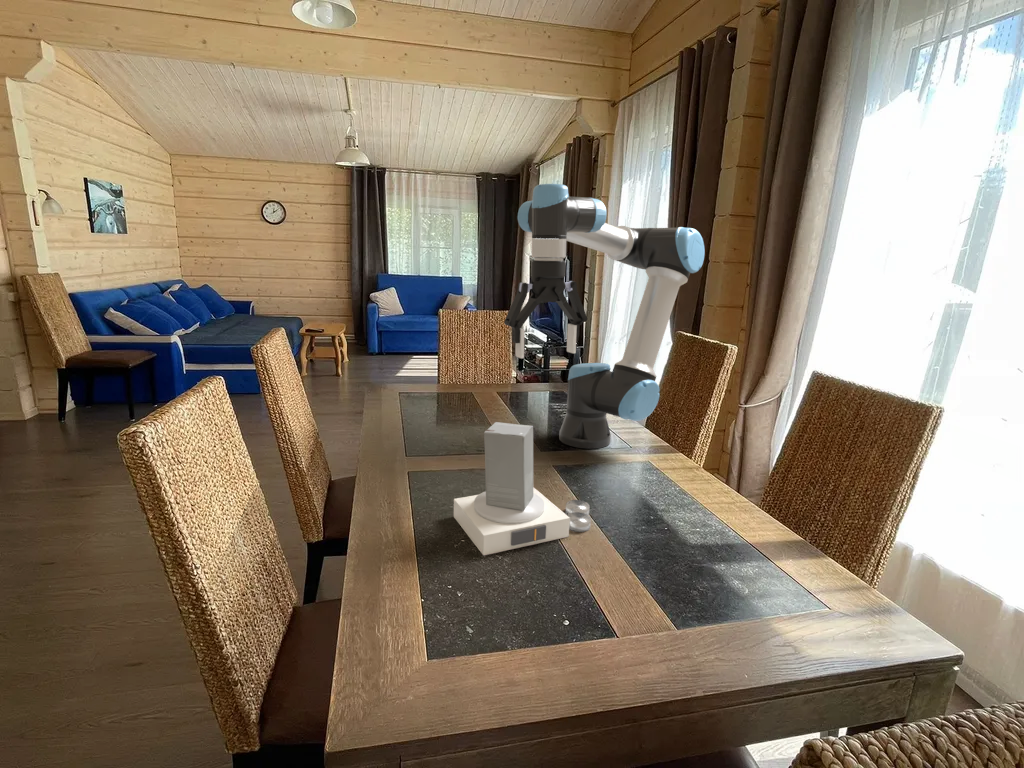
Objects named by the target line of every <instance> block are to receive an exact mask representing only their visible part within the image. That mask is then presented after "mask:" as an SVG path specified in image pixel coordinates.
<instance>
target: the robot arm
mask: <svg viewBox="0 0 1024 768" xmlns="http://www.w3.org/2000/svg"><path fill="white" fill-rule="evenodd" d="M607 212H608V211H607V208H606V205H605V204H604V202H603V201H601V200H600V199H598V198H593V197H590V196H589V197H584V196H583V197H581V196H570V194H569V188H568V186H567V185H565V184H563V183H562V184H560V183H539V184H537V185H536V186H534V188H533V191H532V200H529V201H528V200H527V201H525V202H523V203H522V204H521V205H520V207H518V212H517V223H518V226H519V227H520V228H521V229H522V231H524V232H527V233H531V257H532V258H533V260H532V261H531V262H530V265H531V266H530V278H531V282H530V283H527V282H522V281H519V282H518V285H517V291H516V295H515V296H514V299H513V301H512V303H511V306H510V308H509V310H508V312H507V314H506V316H505V319H504V321H503V323H504V325H505V326H508V327H511V328H512V330H511V331H512V333H511V334H512V336H511V337H512V338H511V339H512V343H514V344H515V354H514V355H515V357H517V358H518V359H525V328H522V327H523V325H524V324H525V322H526V321H527V320H528V319H529V317H530V315H532V313H533V312H534V310H536V307H537V306H538V305H540V304H541V303H542V304H547V303H557V305H558V307H560V309H561V311H562V312H563V313H564V314H565V316H566V318H567V319H568V320H569V323H567V329H566V330H567V331H566V332H567V335H566V352H567V353H570V354H576V353H577V352H576V351H577V339H579V337H580V326H582V325H583V322H584V323H585V322H587V321H588V317H587V313H586V311H585V309H584V305H583V303H582V301H581V298H580V296H579V293H578V285H577V281H573V280H567V281H566V282H565V276H566V264H567V263H566V261H565V260H564V259H566V257H567V242H569V243H572V244H575V245H579V246H581V247H586V248H589V249H591V250H594V251H597V252H600V253H603V254H606V256H607V257H608V258H610V259H611V260H614V261H616V262H619V263H621V264H625V265H628V266H631V267H633V268H637V269H641V270H644V271H645V274H646V275H647V278H648V279H647V283H646V286H645V288H644V289H645V290H644V291H643V295H642V298H641V300H640V304H639V308H638V310H637V313H636V316H635V319H634V323H633V325H632V329H631V331H630V335H629V338H628V341H627V343H626V347H625V349H624V353H623V355H622V356H623V357H622V359H621V360H619V361H617V362H615V363H614V365H613V368H612V370H611V365H610V364H609V363H607V362H606V363H604V362H589V363H588V362H587V363H585V362H584V363H577V364H573V365H572V366H571V367H570V368H569V371H568V378H567V393H566V394H567V397H566V414H565V416H564V418H563V421H562V425H561V426H560V429H559V433H558V435H559V436H558V438H559V441H560V442H561V443H562V444H564V445H567V446H570V447H574V448H580V449H590V450H591V449H593V450H594V449H601V448H604V447H607V446H609V445H610V443H611V438H612V436H611V432H610V428H609V427H610V426H609V423H608V420H607V419H608V418H607V414H609V415H612V416H615V417H617V418H621V419H623V420H626V421H628V420H630V421H633V422H641V421H643V420H645V419H646V418H647V417H650V415H651V414H653V412H654V410H655V409H656V408H657V406H658V403H659V400H660V391H661V390H660V386H659V384H658V383H657V382H656V379H657V375H656V373H655V371H654V367H655V363H656V360H657V357H658V354H659V351H660V348H661V345H662V342H663V339H664V336H665V332H666V330H667V326H668V324H669V321H670V317H671V314H672V312H673V309H674V306H675V301H676V299H677V296H678V293H679V290H680V287H681V286H683V285H684V284H686V283H688V280H689V278H690V274H695V273H697V272H699V270H701V268H702V266H703V264H704V260H705V243H704V238H703V237H702V235H701V233H700V232H699V231H698V230H697V229H695V228H692V227H683V226H679V227H641V228H640V227H639V228H637V227H636V228H635V227H628V226H626V225H620V226H615V225H612V224H609V223H607V221H606V220H607V214H608V213H607ZM530 291H531V293H532V294H531V295H530V296H529V298H528V299H527V302H526V304H524V303H525V300H526V298H527V295H528V293H529V292H530ZM564 291H566V292H567V296H568V298H569V301H570V303H569V302H568V299H567V298H566V297H565V295H564ZM570 304H571V305H570ZM523 305H524V306H523ZM571 306H572V307H571ZM522 307H523V308H522Z"/></svg>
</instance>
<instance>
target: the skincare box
mask: <svg viewBox="0 0 1024 768" xmlns="http://www.w3.org/2000/svg"><path fill="white" fill-rule="evenodd" d="M483 436H484V437H483V439H484V442H483V443H484V468H485V469H484V471H485V473H484V475H485V479H484V480H485V491H486V505H491V506H498V507H504V508H511V509H517V510H525V508H526V507H527V505H528V504H529V502H530V501H531V500H532V498H533V487H534V426H533V425H530V424H529V425H528V424H527V425H526V424H515V423H508V422H499V421H494V423H493V424H492V425H491V426H489V428H487V429H486V430H485V431H484V432H483Z"/></svg>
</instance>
